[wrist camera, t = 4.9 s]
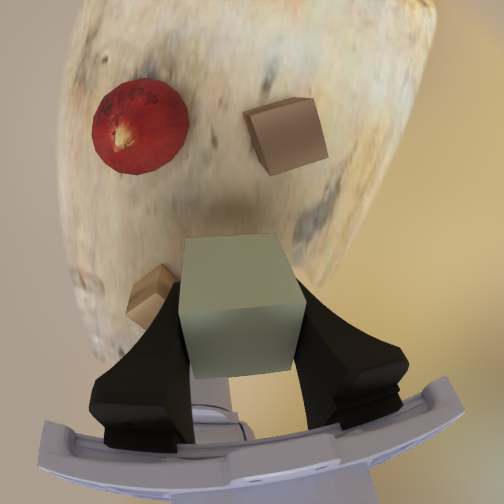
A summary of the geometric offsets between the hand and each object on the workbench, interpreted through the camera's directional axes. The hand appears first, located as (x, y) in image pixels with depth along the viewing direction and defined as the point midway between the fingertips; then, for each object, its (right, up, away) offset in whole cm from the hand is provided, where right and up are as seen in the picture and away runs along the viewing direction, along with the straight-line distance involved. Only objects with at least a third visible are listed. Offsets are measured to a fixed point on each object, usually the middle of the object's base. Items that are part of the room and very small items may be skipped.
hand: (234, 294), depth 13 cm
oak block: (-8, -1, +11) cm, 14 cm away
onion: (-6, +11, +4) cm, 14 cm away
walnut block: (+3, +11, +5) cm, 13 cm away
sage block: (0, +1, +1) cm, 2 cm away
